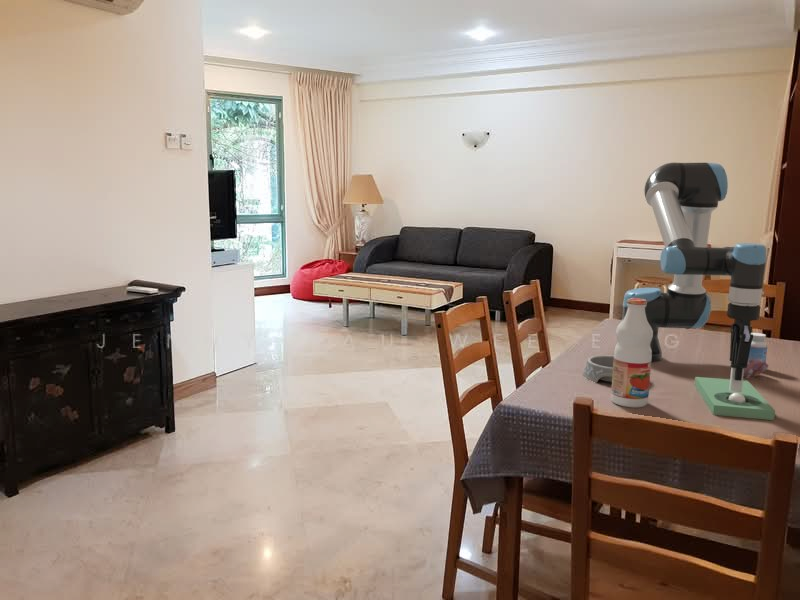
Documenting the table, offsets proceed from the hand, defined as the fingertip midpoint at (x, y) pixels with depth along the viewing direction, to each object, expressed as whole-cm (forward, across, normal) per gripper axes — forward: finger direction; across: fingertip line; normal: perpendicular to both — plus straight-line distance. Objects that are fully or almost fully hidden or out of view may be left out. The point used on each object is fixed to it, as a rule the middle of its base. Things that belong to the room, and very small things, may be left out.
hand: (735, 390), depth 174 cm
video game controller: (+4, +30, -11) cm, 32 cm away
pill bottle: (+4, +41, -15) cm, 44 cm away
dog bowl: (+4, +17, +29) cm, 34 cm away
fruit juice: (+4, -6, +27) cm, 28 cm away
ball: (+2, -2, 0) cm, 3 cm away
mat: (+4, +3, 0) cm, 5 cm away
